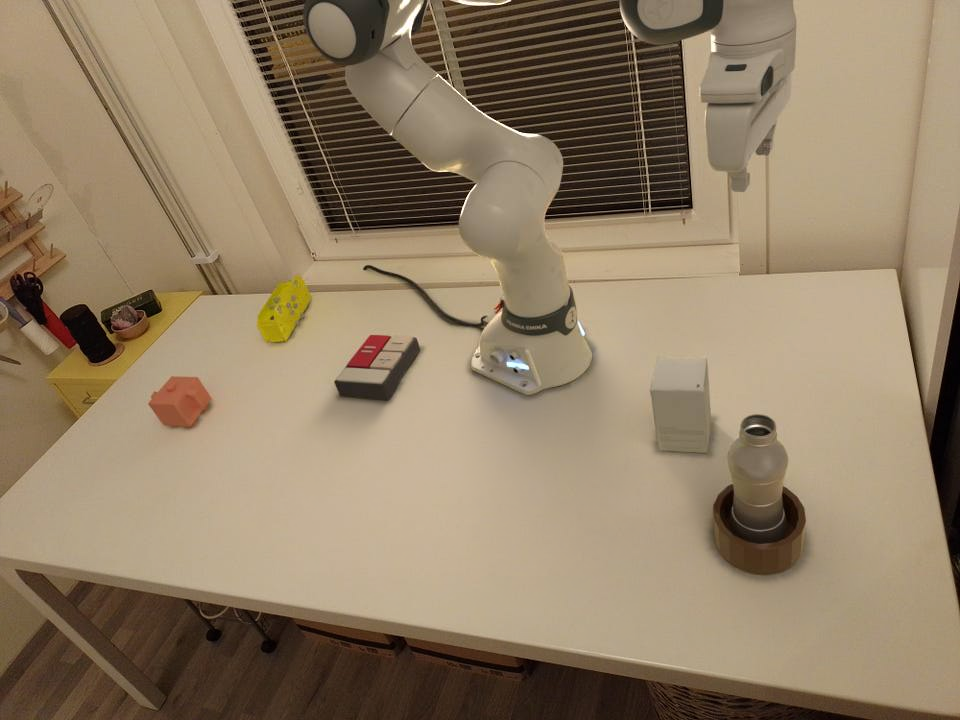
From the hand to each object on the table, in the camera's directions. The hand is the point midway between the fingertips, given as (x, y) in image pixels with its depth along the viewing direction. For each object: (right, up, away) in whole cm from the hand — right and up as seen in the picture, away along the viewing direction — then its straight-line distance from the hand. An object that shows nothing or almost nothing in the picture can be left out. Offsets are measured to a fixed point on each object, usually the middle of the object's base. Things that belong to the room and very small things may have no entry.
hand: (752, 170), depth 88 cm
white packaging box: (-3, -35, +19) cm, 40 cm away
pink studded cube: (-93, -35, +54) cm, 113 cm away
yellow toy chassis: (-77, -15, +72) cm, 106 cm away
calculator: (-53, -26, +49) cm, 77 cm away
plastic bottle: (+2, -46, +3) cm, 46 cm away
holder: (+2, -47, +3) cm, 47 cm away
